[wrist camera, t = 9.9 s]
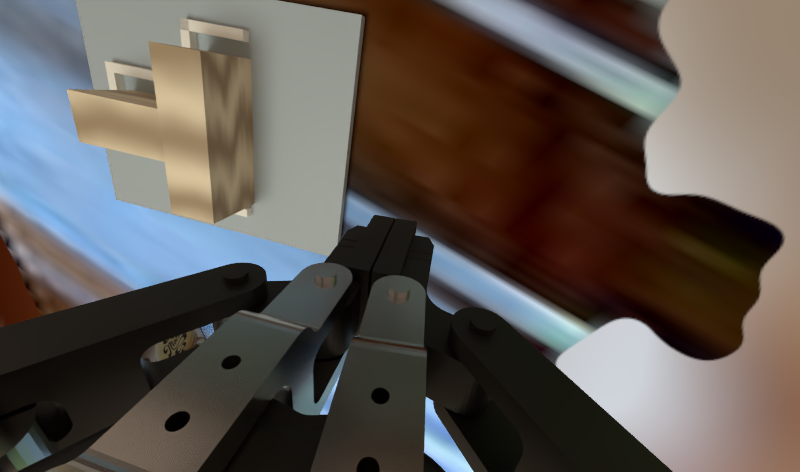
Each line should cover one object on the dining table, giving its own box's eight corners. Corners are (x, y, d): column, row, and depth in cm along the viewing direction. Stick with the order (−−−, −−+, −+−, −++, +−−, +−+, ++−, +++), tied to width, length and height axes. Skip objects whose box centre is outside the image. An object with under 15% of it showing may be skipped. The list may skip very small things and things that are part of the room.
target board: (78, -33, 35) (57, -40, 33) (365, 17, 31) (358, 12, 29) (123, 197, 46) (108, 201, 44) (338, 254, 42) (332, 261, 40)
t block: (125, 35, 36) (50, 22, 29) (251, 59, 34) (200, 51, 28) (148, 178, 42) (91, 192, 36) (254, 204, 41) (213, 223, 34)
